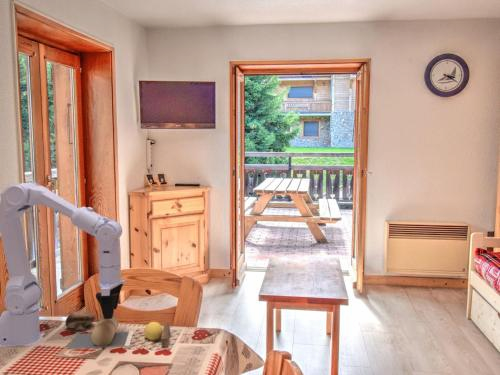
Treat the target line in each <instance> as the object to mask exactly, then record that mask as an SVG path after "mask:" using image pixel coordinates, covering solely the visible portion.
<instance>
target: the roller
mask: <svg viewBox="0 0 500 375" xmlns="http://www.w3.org/2000/svg"><path fill="white" fill-rule="evenodd" d="M118 327H119V320H118V318H117V317H116V315H113V317H112V319H104V317H103V315H102V316H101V317H99V319H98V320H97V323H96V324H95V327H94V329H93V330H92V332H91V333H92V335H91V338H92V341H93V343H94V344H96V345H97V346H106V345H108V344H110V342H111V341H112V339H113V337H114V334H115V332H117V329H118Z"/></svg>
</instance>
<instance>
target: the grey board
mask: <svg viewBox="0 0 500 375" xmlns="http://www.w3.org/2000/svg"><path fill="white" fill-rule="evenodd" d="M91 335H92V332H91V333H76V334H75V336H74V337H73V339H72V340H71V341H70V343H69V345H68V346H67V348H66V350H78V349H93V348H94V349H96V348H97V349H98V348H114V347H115V348H116V347H130V344H131V341H132V337H133V335H134V331H133V330H129V331H116V332H115V334H114V337H113V339H112V341H111V342H110V344H108V345H106V346H97V345H96V344H94V343H93V341H92V338H91Z"/></svg>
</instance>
